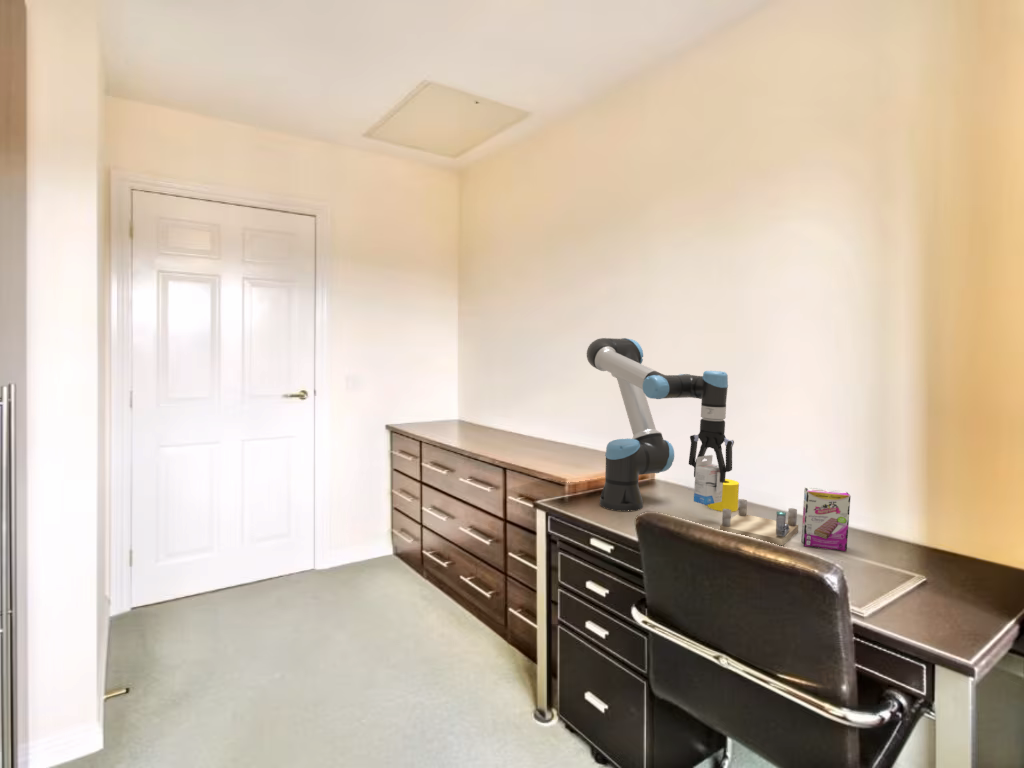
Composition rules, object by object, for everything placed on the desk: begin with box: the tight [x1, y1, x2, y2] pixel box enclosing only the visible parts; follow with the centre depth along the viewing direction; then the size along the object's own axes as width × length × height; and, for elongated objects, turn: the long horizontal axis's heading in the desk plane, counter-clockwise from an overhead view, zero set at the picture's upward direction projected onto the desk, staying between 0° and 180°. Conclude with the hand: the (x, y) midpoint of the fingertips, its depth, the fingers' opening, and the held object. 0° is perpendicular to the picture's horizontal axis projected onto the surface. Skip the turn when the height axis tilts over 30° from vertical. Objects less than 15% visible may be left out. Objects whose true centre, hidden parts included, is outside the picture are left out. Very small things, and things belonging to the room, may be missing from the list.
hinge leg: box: [775, 510, 790, 536], centre depth 165 cm, size 10×2×7 cm, turn 143°
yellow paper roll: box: [707, 478, 740, 513], centre depth 199 cm, size 10×10×9 cm
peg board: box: [719, 498, 799, 547], centre depth 173 cm, size 18×18×7 cm
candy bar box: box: [800, 487, 852, 552], centre depth 160 cm, size 11×5×16 cm, turn 71°
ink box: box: [693, 454, 723, 506], centre depth 181 cm, size 8×5×15 cm, turn 124°
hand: (708, 489), depth 181 cm, fingers closed on ink box, 6 cm apart
